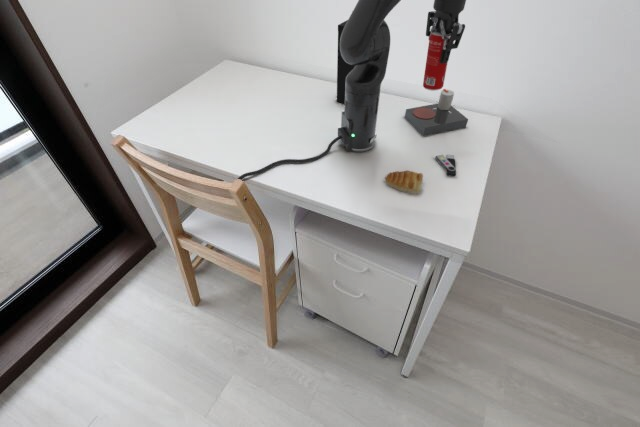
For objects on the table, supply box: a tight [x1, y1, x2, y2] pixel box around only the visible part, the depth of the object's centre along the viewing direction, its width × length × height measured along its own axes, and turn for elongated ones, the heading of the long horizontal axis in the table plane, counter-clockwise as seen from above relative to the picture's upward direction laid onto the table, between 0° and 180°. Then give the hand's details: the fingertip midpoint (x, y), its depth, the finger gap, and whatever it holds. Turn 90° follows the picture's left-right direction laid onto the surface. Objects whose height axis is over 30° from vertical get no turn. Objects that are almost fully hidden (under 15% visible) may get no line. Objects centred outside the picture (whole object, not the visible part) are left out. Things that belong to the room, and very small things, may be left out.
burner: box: [413, 108, 435, 119], centre depth 107 cm, size 7×7×1 cm
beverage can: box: [422, 30, 451, 91], centre depth 95 cm, size 6×6×15 cm
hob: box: [404, 100, 469, 137], centre depth 108 cm, size 16×13×3 cm
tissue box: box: [336, 10, 356, 105], centre depth 110 cm, size 8×8×28 cm
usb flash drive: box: [434, 154, 457, 177], centre depth 92 cm, size 9×5×1 cm, turn 166°
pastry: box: [384, 169, 424, 195], centre depth 86 cm, size 9×7×4 cm
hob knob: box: [437, 88, 455, 110], centre depth 107 cm, size 4×4×5 cm
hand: (436, 58), depth 94 cm, fingers closed on beverage can, 5 cm apart
